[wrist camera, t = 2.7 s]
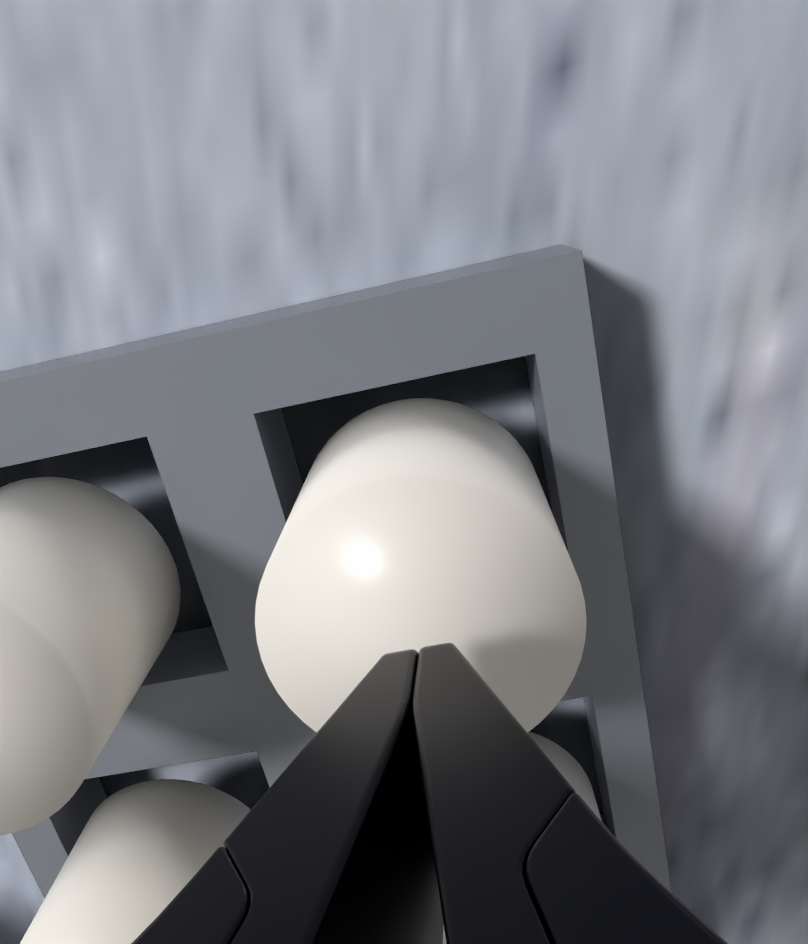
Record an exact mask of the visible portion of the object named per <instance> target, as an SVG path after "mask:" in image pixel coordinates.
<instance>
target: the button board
mask: <svg viewBox="0 0 808 944" xmlns="http://www.w3.org/2000/svg"><path fill="white" fill-rule="evenodd" d="M522 356H525V358H526V364H527V370H528V375H529V381H530V387H531V393H532V399H533V405H534V410H535V416H536V422H537V428H538V434H539V440H540V445H541V451H542V457H543V463H544V469H545V475H546V480H547V486H548V492H549V498H550V504H551V510H552V514H553V517H554V519H555V522H556V524H557V526H558V529H559V531H560V534H561V536H562V539H563V541H564V544H565V546H566V549H567V551H568V554H569V556H570V559H571V561H572V564H573V566H574V569H575V571H576V573H577V576H578V578H579V581H580V584H581V588H582V592H583V596H584V600H585V609H586V620H587V623H586V638H585V644H584V649H583V653H582V658H581V661H580V664H579V666H578V669H577V672H576V674H575V677H574V679H573V680H572V682H571V684H570V686H569V688H568V689H567V691H566V693H565V694H564V696H563V697H562V698H561V700H560V701H562V700H568V699H574V698H580V697H584V702H585V708H586V714H587V719H588V725H589V731H590V737H591V743H592V749H593V754H594V760H595V766H596V772H597V778H598V784H599V789H600V795H601V801H602V807H603V813H604V814H600V817H601V820H602V823H603V824H604V825H605V826H606V827H607V828H608V829H609V830H610V831H611V833H612V834H613V835H614V836H615V837H616V838H617V839H618V840H619V841H620V843H621V844H622V845H623V846H624V847H625V848H626V849H627V850H628V851H629V853H630V854H632V855H633V856H634V857H635V858H636V859H637V860H638V861H639V862H640V863H641V864H642V865H643V866H644V867H645V868H646V869H647V870H648V871H649V872H650V873H651V874H652V875H653V876H654V877H655V878H656V879H658V880H659V881H660V882H661V883H662V884H663V885H664V886H665V887H666V888H667V889H668V890H669V891H670V892H671V893H672V891H671V883H670V876H669V869H668V862H667V855H666V848H665V841H664V834H663V826H662V819H661V812H660V805H659V798H658V791H657V784H656V776H655V769H654V762H653V755H652V748H651V741H650V734H649V727H648V719H647V712H646V705H645V698H644V691H643V684H642V677H641V670H640V662H639V655H638V648H637V641H636V634H635V627H634V620H633V612H632V605H631V598H630V591H629V584H628V577H627V570H626V563H625V555H624V548H623V541H622V534H621V527H620V520H619V513H618V505H617V498H616V491H615V484H614V477H613V470H612V463H611V456H610V448H609V441H608V434H607V427H606V420H605V413H604V406H603V399H602V391H601V384H600V377H599V370H598V363H597V356H596V349H595V341H594V334H593V327H592V320H591V313H590V306H589V299H588V292H587V284H586V277H585V270H584V263H583V256H582V250H579V249H575V248H572V247H568V246H564V245H557V246H553V247H548V248H544V249H540V250H535V251H531V252H526V253H522V254H518V255H513V256H509V257H504V258H500V259H496V260H491V261H487V262H482V263H478V264H474V265H469V266H465V267H460V268H456V269H452V270H447V271H443V272H438V273H434V274H430V275H425V276H421V277H416V278H412V279H408V280H403V281H399V282H394V283H390V284H386V285H381V286H377V287H372V288H368V289H364V290H359V291H355V292H350V293H346V294H342V295H337V296H333V297H328V298H324V299H320V300H315V301H311V302H306V303H302V304H298V305H293V306H289V307H284V308H280V309H276V310H271V311H267V312H262V313H258V314H254V315H249V316H245V317H241V318H236V319H232V320H227V321H223V322H219V323H214V324H210V325H205V326H201V327H197V328H192V329H188V330H183V331H179V332H175V333H170V334H166V335H161V336H157V337H153V338H148V339H144V340H139V341H135V342H131V343H126V344H122V345H117V346H113V347H109V348H104V349H100V350H95V351H91V352H87V353H82V354H78V355H73V356H69V357H65V358H60V359H56V360H51V361H47V362H43V363H38V364H34V365H29V366H25V367H21V368H16V369H12V370H7V371H3V372H0V468H1V467H6V466H11V465H15V464H20V463H25V462H30V461H34V460H39V459H44V458H48V457H53V456H58V455H62V454H67V453H72V452H76V451H81V450H86V449H90V448H95V447H100V446H105V445H109V444H114V443H119V442H123V441H128V440H133V439H137V438H142V437H147V439H148V442H149V444H150V447H151V450H152V453H153V456H154V459H155V462H156V464H157V467H158V470H159V473H160V476H161V479H162V482H163V484H164V487H165V490H166V493H167V496H168V499H169V502H170V504H171V507H172V510H173V513H174V516H175V519H176V522H177V524H178V527H179V530H180V533H181V536H182V539H183V542H184V544H185V547H186V550H187V553H188V556H189V559H190V562H191V564H192V567H193V570H194V573H195V576H196V579H197V582H198V584H199V587H200V590H201V593H202V596H203V599H204V602H205V605H206V607H207V610H208V613H209V616H210V619H211V622H212V625H213V626H210V627H204V628H199V629H194V630H188V631H183V632H177V633H172V634H171V636H170V638H169V640H168V641H167V643H166V645H165V646H164V648H163V650H162V651H161V653H160V655H159V656H158V658H157V660H156V661H155V663H154V665H153V666H152V668H151V669H150V671H149V673H148V674H147V676H146V678H145V679H144V681H143V683H142V684H141V686H140V688H139V689H138V691H137V693H136V694H135V696H134V698H133V699H132V701H131V703H130V704H129V706H128V708H127V709H126V711H125V713H124V714H123V716H122V717H121V719H120V721H119V722H118V724H117V726H116V727H115V729H114V731H113V732H112V734H111V736H110V737H109V739H108V741H107V742H106V744H105V746H104V747H103V749H102V751H101V752H100V754H99V756H98V757H97V759H96V761H95V762H94V764H93V765H92V767H91V769H90V770H89V772H88V774H87V775H86V777H85V779H84V780H83V782H82V784H81V785H80V787H79V788H78V790H77V791H76V792H75V794H74V795H73V796H72V798H71V799H70V800H69V801H68V802H67V803H66V804H65V805H64V806H63V807H62V808H61V809H60V810H58V811H57V812H56V813H54V814H53V815H51V816H50V817H49V818H47V819H45V820H43V821H41V822H40V823H38V824H36V825H34V826H31V827H29V828H26V829H23V830H20V831H17V832H13V833H12V835H13V837H14V839H15V841H16V843H17V845H18V847H19V849H20V851H21V853H22V855H23V857H24V859H25V861H26V863H27V864H28V866H29V868H30V870H31V872H32V874H33V876H34V878H35V880H36V882H37V884H38V886H39V888H40V890H41V892H42V894H43V896H44V898H45V897H46V896H47V894H48V892H49V890H50V888H51V887H52V885H53V883H54V881H55V879H56V878H57V876H58V874H59V872H60V870H61V869H62V867H63V865H64V863H65V861H66V860H67V858H68V856H69V854H70V853H71V851H72V849H73V847H74V845H75V844H76V842H77V840H78V838H79V836H80V835H81V833H82V831H83V829H84V827H85V826H86V824H87V822H88V820H89V818H90V817H91V815H92V814H93V812H94V811H95V810H96V808H97V807H98V806H99V805H100V804H101V803H102V802H103V801H104V800H105V799H107V795H106V793H105V791H104V789H103V786H102V784H101V782H100V779H99V777H102V776H108V775H114V774H120V773H126V772H132V771H138V770H144V769H150V768H156V767H162V766H169V765H175V764H181V763H187V762H193V761H199V760H205V759H211V758H217V757H223V756H229V755H235V754H241V753H247V752H253V751H257V753H258V756H259V759H260V762H261V765H262V768H263V770H264V773H265V776H266V779H267V782H268V785H269V788H270V787H271V786H272V784H273V783H274V782H275V781H276V780H277V779H278V777H279V776H280V775H281V774H282V773H283V772H284V770H285V769H286V768H287V767H288V766H289V765H290V763H291V762H292V761H293V760H294V759H295V758H296V756H297V755H298V754H299V753H300V752H301V751H302V749H303V748H304V747H305V746H306V745H307V743H308V742H309V741H310V740H311V739H312V738H313V736H314V735H315V734H316V733H317V732H315V731H314V730H313V729H311V728H310V727H309V726H308V725H306V724H305V723H304V722H303V721H302V720H301V719H300V718H299V717H298V716H297V715H296V714H295V713H294V712H293V711H292V710H291V709H290V708H289V707H288V706H287V704H286V703H285V702H284V701H283V699H282V698H281V697H280V695H279V694H278V693H277V691H276V689H275V687H274V686H273V684H272V682H271V681H270V679H269V677H268V675H267V672H266V670H265V667H264V665H263V662H262V660H261V656H260V652H259V648H258V645H257V639H256V630H255V607H256V600H257V595H258V589H259V585H260V582H261V579H262V576H263V574H264V571H265V568H266V566H267V563H268V561H269V559H270V557H271V555H272V552H273V550H274V548H275V546H276V544H277V541H278V539H279V537H280V535H281V533H282V530H283V528H284V526H285V524H286V522H287V519H288V517H289V515H290V513H291V511H292V508H293V506H294V504H295V502H296V500H297V497H298V495H299V493H300V491H301V489H302V486H303V483H302V479H301V476H300V472H299V469H298V465H297V462H296V458H295V455H294V451H293V448H292V444H291V441H290V437H289V434H288V430H287V427H286V423H285V420H284V416H283V413H282V409H281V408H283V407H287V406H292V405H297V404H301V403H306V402H311V401H316V400H320V399H325V398H330V397H334V396H339V395H344V394H348V393H353V392H358V391H362V390H367V389H372V388H376V387H381V386H386V385H391V384H395V383H400V382H405V381H409V380H414V379H419V378H423V377H428V376H433V375H437V374H442V373H447V372H451V371H456V370H461V369H466V368H470V367H475V366H480V365H484V364H489V363H494V362H498V361H503V360H508V359H512V358H517V357H522Z"/></svg>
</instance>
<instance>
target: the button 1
mask: <svg viewBox="0 0 808 944" xmlns="http://www.w3.org/2000/svg"><path fill="white" fill-rule="evenodd" d="M180 604H181V588H180V581H179V575H178V572H177V568H176V565H175V562H174V559H173V557H172V555H171V553H170V550H169V548H168V547H167V545H166V543H165V542H164V540H163V538H162V537H161V535H160V534H159V533H158V532H157V530H156V529H155V528H154V526H153V525H152V524H151V523H150V522H149V521H148V520H147V519H146V518H145V517H144V516H143V515H142V514H141V513H140V512H139V511H138V510H136V509H135V508H134V507H133V506H131V505H130V504H129V503H127V502H126V501H124V500H123V499H121V498H120V497H118V496H116V495H115V494H113V493H111V492H109V491H107V490H104V489H102V488H100V487H98V486H95V485H92V484H89V483H86V482H82V481H78V480H74V479H69V478H60V477H36V478H29V479H23V480H19V481H16V482H12V483H9V484H7V485H5V486H2V487H0V835H4V834H9V833H13V832H17V831H20V830H23V829H26V828H29V827H31V826H34V825H36V824H38V823H40V822H41V821H43V820H45V819H47V818H49V817H50V816H51V815H53V814H54V813H56V812H57V811H58V810H60V809H61V808H62V807H63V806H64V805H65V804H66V803H67V802H68V801H69V800H70V799H71V798H72V796H73V795H74V794H75V792H76V791H77V790H78V788H79V787H80V785H81V784H82V782H83V780H84V779H85V777H86V775H87V774H88V772H89V770H90V769H91V767H92V765H93V764H94V762H95V761H96V759H97V757H98V756H99V754H100V752H101V751H102V749H103V747H104V746H105V744H106V742H107V741H108V739H109V737H110V736H111V734H112V732H113V731H114V729H115V727H116V726H117V724H118V722H119V721H120V719H121V717H122V716H123V714H124V713H125V711H126V709H127V708H128V706H129V704H130V703H131V701H132V699H133V698H134V696H135V694H136V693H137V691H138V689H139V688H140V686H141V684H142V683H143V681H144V679H145V678H146V676H147V674H148V673H149V671H150V669H151V668H152V666H153V665H154V663H155V661H156V660H157V658H158V656H159V655H160V653H161V651H162V650H163V648H164V646H165V645H166V643H167V641H168V640H169V638H170V636H171V634H172V632H173V630H174V628H175V625H176V622H177V619H178V616H179V610H180Z"/></svg>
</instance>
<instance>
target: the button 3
mask: <svg viewBox="0 0 808 944" xmlns="http://www.w3.org/2000/svg"><path fill="white" fill-rule="evenodd" d="M586 623H587V620H586V609H585V600H584V596H583V592H582V588H581V584H580V581H579V578H578V576H577V573H576V571H575V569H574V566H573V564H572V561H571V559H570V556H569V554H568V551H567V549H566V546H565V544H564V541H563V539H562V536H561V534H560V531H559V529H558V526H557V524H556V522H555V519H554V517H553V514H552V512H551V509H550V507H549V504H548V502H547V499H546V497H545V494H544V492H543V489H542V487H541V484H540V482H539V479H538V477H537V475H536V472H535V470H534V467H533V465H532V463H531V461H530V459H529V457H528V456H527V454H526V452H525V451H524V449H523V448H522V447H521V445H520V444H519V443H518V442H517V440H516V439H515V438H514V437H513V436H512V435H511V434H510V433H509V432H508V431H507V430H506V429H505V428H504V427H502V426H501V425H500V424H498V423H497V422H496V421H494V420H493V419H492V418H490V417H488V416H486V415H485V414H483V413H481V412H479V411H477V410H475V409H473V408H470V407H467V406H465V405H462V404H459V403H455V402H451V401H447V400H440V399H431V398H411V399H405V400H398V401H393V402H389V403H386V404H382V405H379V406H377V407H374V408H372V409H370V410H367V411H365V412H363V413H361V414H360V415H358V416H356V417H355V418H353V419H351V420H350V421H349V422H347V423H346V424H345V425H344V426H342V427H341V428H340V429H339V430H338V431H337V432H336V433H335V434H334V435H333V436H332V437H331V438H330V439H329V440H328V441H327V442H326V444H325V445H324V447H323V448H322V449H321V451H320V452H319V454H318V455H317V457H316V459H315V461H314V463H313V465H312V467H311V469H310V471H309V473H308V475H307V478H306V480H305V482H304V484H303V486H302V489H301V491H300V493H299V495H298V497H297V500H296V502H295V504H294V506H293V508H292V511H291V513H290V515H289V517H288V519H287V522H286V524H285V526H284V528H283V530H282V533H281V535H280V537H279V539H278V541H277V544H276V546H275V548H274V550H273V552H272V555H271V557H270V559H269V561H268V563H267V566H266V568H265V571H264V574H263V576H262V579H261V582H260V585H259V589H258V595H257V600H256V607H255V630H256V639H257V645H258V648H259V652H260V656H261V660H262V662H263V665H264V667H265V670H266V672H267V675H268V677H269V679H270V681H271V682H272V684H273V686H274V687H275V689H276V691H277V693H278V694H279V695H280V697H281V698H282V699H283V701H284V702H285V703H286V704H287V706H288V707H289V708H290V709H291V710H292V711H293V712H294V713H295V714H296V715H297V716H298V717H299V718H300V719H301V720H302V721H303V722H304V723H305V724H306V725H308V726H309V727H310V728H311V729H313V730H314V731H315V732H318V731H319V729H320V728H321V727H322V726H323V725H324V724H325V722H326V721H327V720H328V719H329V718H330V717H331V715H332V714H333V713H334V712H335V711H336V710H337V708H338V707H339V706H340V705H341V704H342V703H343V701H344V700H345V699H346V698H347V697H348V695H349V694H350V693H351V692H352V691H353V690H354V688H355V687H356V686H357V685H358V684H359V683H360V681H361V680H362V679H363V678H364V677H365V676H366V674H367V673H368V672H369V671H370V670H371V669H372V667H373V666H374V665H375V664H376V663H377V662H378V660H379V659H380V658H381V657H382V656H383V655H385V654H387V653H392V652H398V651H404V650H409V649H414V650H417V652H418V653H419V651H420V649H421V648H423V647H426V646H432V645H438V644H443V643H452V644H454V645H455V646H456V647H457V648H458V650H459V651H460V652H461V653H462V654H463V656H464V657H465V658H466V659H467V660H468V662H469V663H470V664H471V665H472V666H473V668H474V669H475V670H476V671H477V672H478V674H479V675H480V676H481V677H482V679H483V680H484V681H485V682H486V683H487V685H488V686H489V687H490V688H491V689H492V691H493V692H494V693H495V694H496V695H497V697H498V698H499V699H500V700H501V701H502V703H503V704H504V705H505V706H506V708H507V709H508V710H509V711H510V712H511V714H512V715H513V716H514V717H515V718H516V720H517V721H518V722H519V723H520V724H521V726H522V727H523V728H524V729H525V731H526V732H527V733H528V732H529V731H530V730H532V729H533V728H534V727H535V726H537V725H538V724H539V723H540V722H541V721H542V720H543V719H544V718H545V717H546V716H547V715H548V714H549V713H550V712H551V711H552V710H553V709H554V708H555V707H556V705H557V704H558V703H559V701H560V700H561V698H562V697H563V696H564V694H565V693H566V691H567V689H568V688H569V686H570V684H571V682H572V680H573V679H574V677H575V674H576V672H577V669H578V666H579V664H580V661H581V658H582V653H583V649H584V644H585V638H586Z"/></svg>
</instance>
